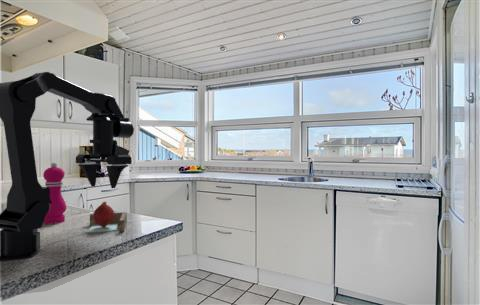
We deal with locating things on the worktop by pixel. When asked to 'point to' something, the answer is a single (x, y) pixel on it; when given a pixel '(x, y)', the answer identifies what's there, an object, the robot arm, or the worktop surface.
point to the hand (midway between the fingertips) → (103, 187)
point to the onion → (103, 215)
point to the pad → (103, 228)
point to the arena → (114, 220)
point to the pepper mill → (55, 194)
